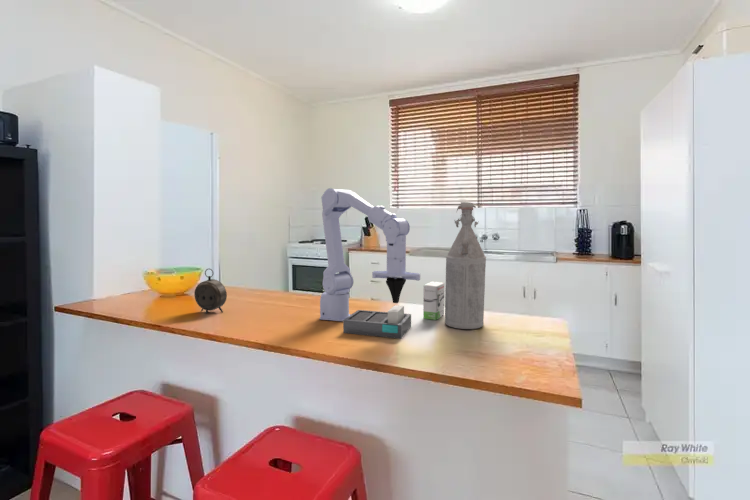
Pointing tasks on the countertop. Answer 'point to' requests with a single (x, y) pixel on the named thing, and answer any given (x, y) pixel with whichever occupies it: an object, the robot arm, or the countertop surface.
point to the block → (396, 314)
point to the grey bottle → (465, 276)
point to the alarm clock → (210, 294)
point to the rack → (375, 324)
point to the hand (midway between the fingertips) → (395, 302)
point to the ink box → (433, 300)
